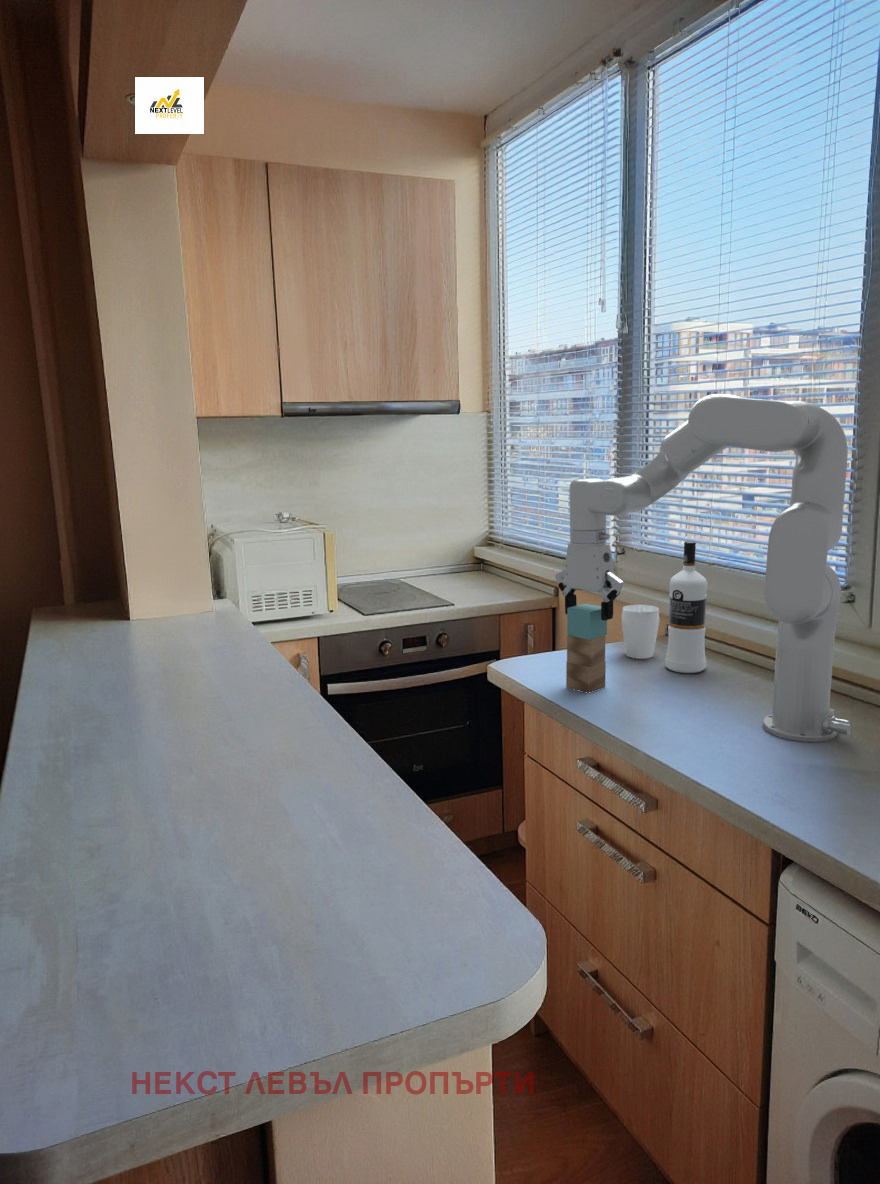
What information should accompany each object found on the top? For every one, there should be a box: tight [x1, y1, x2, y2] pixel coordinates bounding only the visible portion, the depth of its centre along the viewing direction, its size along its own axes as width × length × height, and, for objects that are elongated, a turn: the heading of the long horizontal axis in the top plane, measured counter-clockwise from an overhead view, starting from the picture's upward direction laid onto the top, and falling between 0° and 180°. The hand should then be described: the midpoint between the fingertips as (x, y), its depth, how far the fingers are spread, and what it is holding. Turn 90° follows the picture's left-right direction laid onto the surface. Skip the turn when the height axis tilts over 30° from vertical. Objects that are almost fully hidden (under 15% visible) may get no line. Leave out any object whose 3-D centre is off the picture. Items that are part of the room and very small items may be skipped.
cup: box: [621, 604, 660, 660], centre depth 201 cm, size 9×9×12 cm
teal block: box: [566, 603, 608, 640], centre depth 175 cm, size 6×6×6 cm
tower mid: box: [566, 634, 606, 667], centre depth 177 cm, size 6×6×6 cm
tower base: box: [565, 660, 607, 694], centre depth 178 cm, size 6×6×6 cm
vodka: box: [664, 540, 709, 674], centre depth 187 cm, size 9×9×30 cm
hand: (588, 616), depth 175 cm, fingers open, 9 cm apart
